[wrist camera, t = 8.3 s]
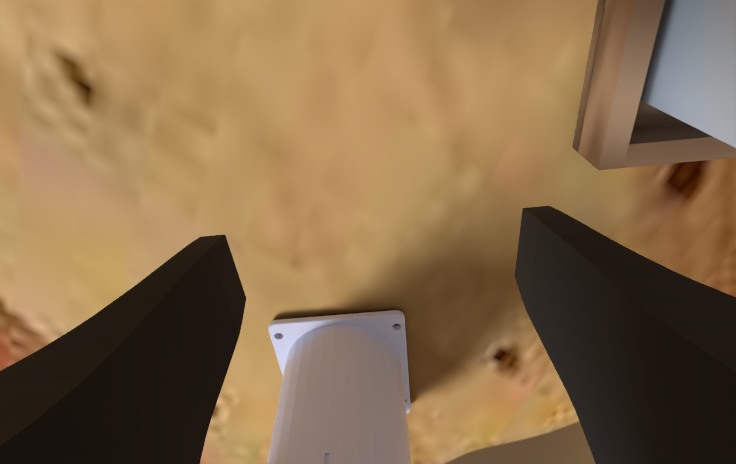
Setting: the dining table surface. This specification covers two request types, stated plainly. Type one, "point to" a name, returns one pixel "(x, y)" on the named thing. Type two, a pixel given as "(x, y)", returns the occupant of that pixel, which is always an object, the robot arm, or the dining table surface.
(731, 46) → the small crate
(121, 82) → the dining table surface
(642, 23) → the shallow brown tray
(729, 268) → the dining table surface
